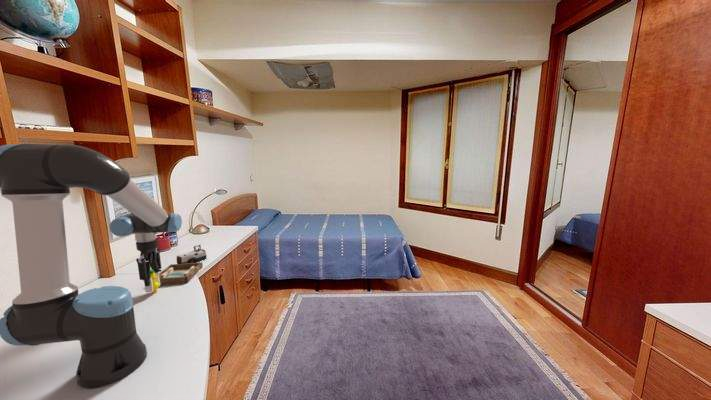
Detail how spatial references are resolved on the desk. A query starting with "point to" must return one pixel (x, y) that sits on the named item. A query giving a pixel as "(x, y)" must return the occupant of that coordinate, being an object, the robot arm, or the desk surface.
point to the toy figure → (154, 281)
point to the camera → (192, 256)
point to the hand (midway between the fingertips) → (153, 288)
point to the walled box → (179, 273)
